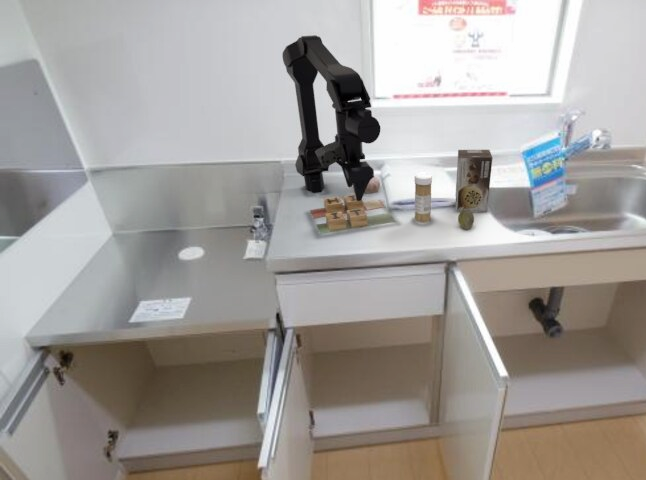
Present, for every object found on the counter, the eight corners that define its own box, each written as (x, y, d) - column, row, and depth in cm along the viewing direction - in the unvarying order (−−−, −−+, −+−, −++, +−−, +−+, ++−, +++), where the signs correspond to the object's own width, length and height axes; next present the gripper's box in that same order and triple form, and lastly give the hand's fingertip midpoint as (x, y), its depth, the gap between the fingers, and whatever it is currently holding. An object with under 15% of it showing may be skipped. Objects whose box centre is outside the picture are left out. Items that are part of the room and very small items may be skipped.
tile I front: (326, 223, 121) (325, 213, 119) (342, 221, 122) (341, 210, 120) (330, 231, 117) (328, 220, 115) (346, 228, 119) (345, 217, 117)
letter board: (308, 213, 127) (307, 209, 127) (381, 202, 134) (381, 199, 133) (318, 237, 117) (318, 234, 116) (397, 224, 123) (397, 220, 122)
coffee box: (484, 202, 135) (490, 149, 125) (487, 212, 130) (493, 157, 120) (454, 202, 135) (457, 148, 124) (456, 212, 130) (460, 156, 119)
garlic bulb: (371, 184, 144) (369, 160, 139) (386, 191, 140) (385, 166, 135) (353, 191, 140) (350, 166, 135) (368, 198, 136) (366, 172, 131)
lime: (473, 223, 124) (474, 206, 121) (473, 231, 121) (475, 214, 117) (457, 222, 124) (458, 206, 121) (457, 230, 121) (458, 213, 118)
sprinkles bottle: (427, 217, 127) (428, 170, 118) (433, 224, 124) (434, 177, 115) (412, 219, 126) (412, 172, 117) (417, 226, 122) (418, 179, 114)
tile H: (324, 208, 128) (323, 198, 126) (340, 206, 129) (339, 196, 127) (328, 215, 125) (326, 205, 123) (343, 212, 126) (342, 202, 124)
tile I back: (344, 205, 130) (343, 195, 128) (359, 203, 131) (358, 193, 129) (348, 212, 126) (347, 202, 124) (363, 209, 128) (362, 199, 126)
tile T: (347, 220, 122) (346, 210, 120) (363, 218, 124) (362, 207, 122) (351, 227, 119) (350, 217, 117) (367, 225, 120) (366, 214, 119)
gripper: (308, 123, 111) (316, 184, 120) (323, 147, 97) (331, 213, 107) (352, 119, 114) (356, 178, 124) (372, 142, 101) (376, 206, 110)
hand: (354, 193), depth 116 cm, fingers open, 9 cm apart
